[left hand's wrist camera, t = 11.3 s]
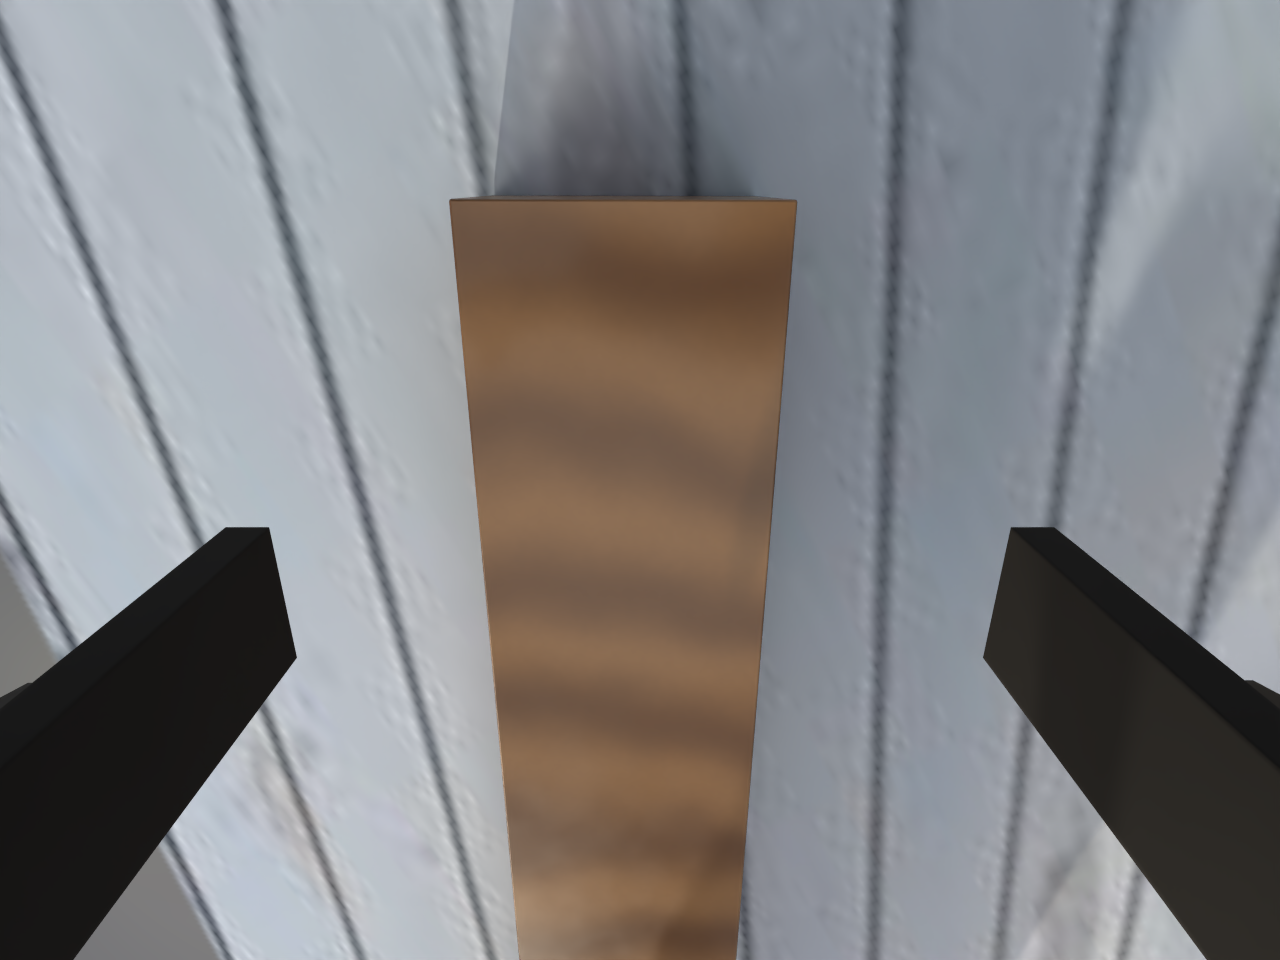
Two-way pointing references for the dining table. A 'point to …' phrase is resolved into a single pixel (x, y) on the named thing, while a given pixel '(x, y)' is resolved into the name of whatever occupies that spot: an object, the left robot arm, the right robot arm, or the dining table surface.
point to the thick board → (625, 548)
